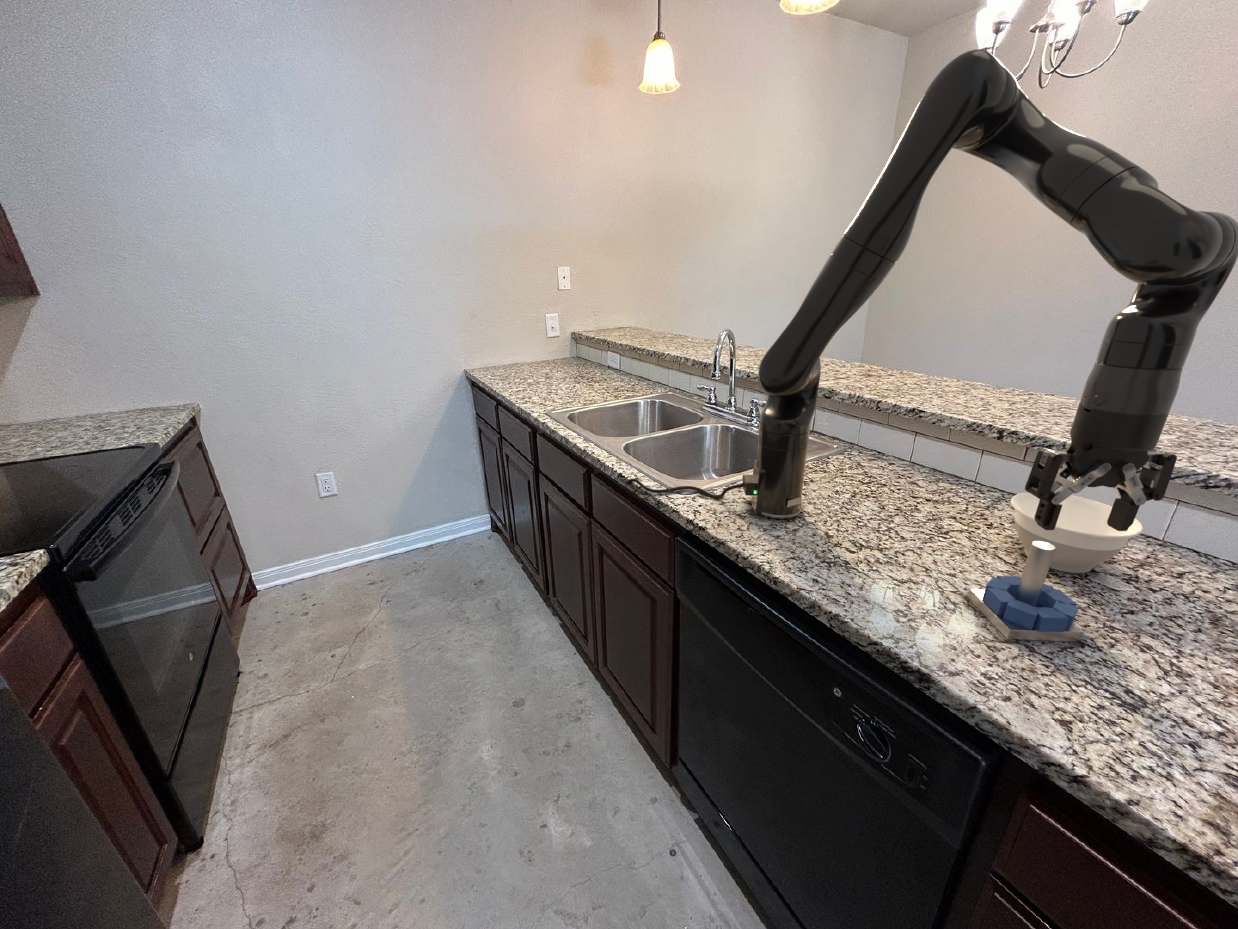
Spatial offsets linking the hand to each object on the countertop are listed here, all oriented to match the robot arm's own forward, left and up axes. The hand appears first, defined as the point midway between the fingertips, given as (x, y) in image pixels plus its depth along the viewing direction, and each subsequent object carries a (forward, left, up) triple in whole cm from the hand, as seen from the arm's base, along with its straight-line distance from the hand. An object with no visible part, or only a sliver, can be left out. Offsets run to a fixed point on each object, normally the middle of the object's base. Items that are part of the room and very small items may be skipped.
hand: (1079, 528), depth 63 cm
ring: (-3, 0, -13) cm, 13 cm away
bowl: (+12, +16, -14) cm, 25 cm away
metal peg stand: (-4, 0, -14) cm, 15 cm away
